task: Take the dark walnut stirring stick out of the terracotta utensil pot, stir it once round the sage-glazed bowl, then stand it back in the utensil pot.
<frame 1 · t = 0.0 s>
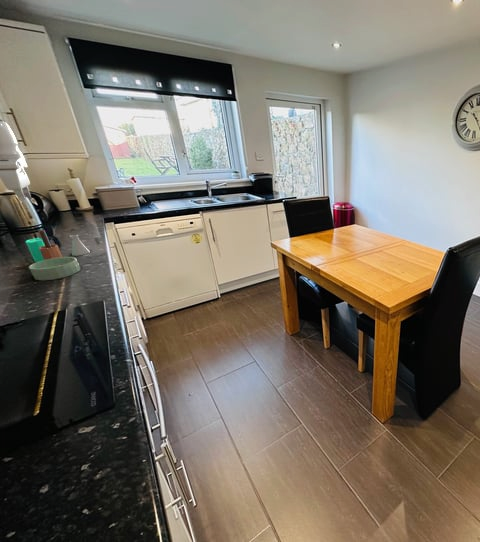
hand: (25, 198, 115), 31 cm above the worktop, tool pointing down, fingers open, 8 cm apart
flask: (81, 254, 144), on the worktop
mixing bowl: (58, 274, 122), on the worktop
utensil pot: (56, 264, 131), on the worktop
stirring stick: (56, 263, 131), point 1 cm above the worktop, touching utensil pot
candle: (44, 261, 135), on the worktop
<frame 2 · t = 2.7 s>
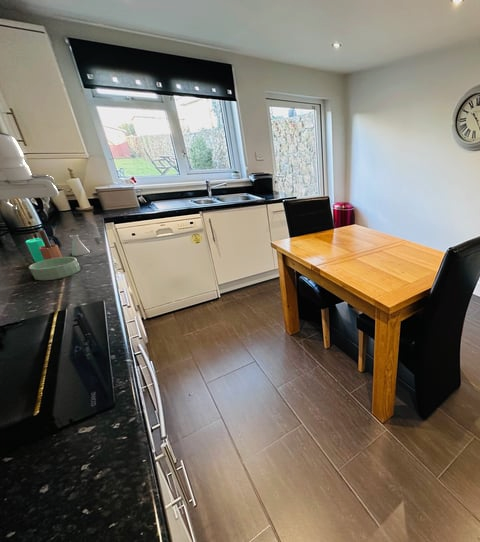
hand: (31, 209, 120), 26 cm above the worktop, tool pointing down, fingers open, 8 cm apart
nothing on the worktop moved.
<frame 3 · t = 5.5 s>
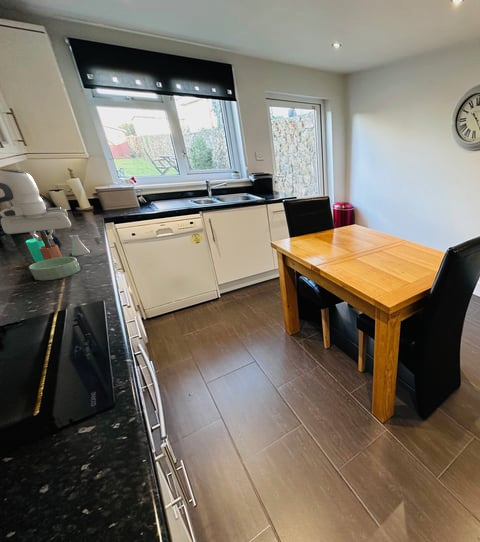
hand: (45, 240, 126), 12 cm above the worktop, tool pointing down, fingers closed on stirring stick, 2 cm apart
stirring stick: (55, 263, 131), point 1 cm above the worktop, touching gripper, utensil pot
everything else where it was.
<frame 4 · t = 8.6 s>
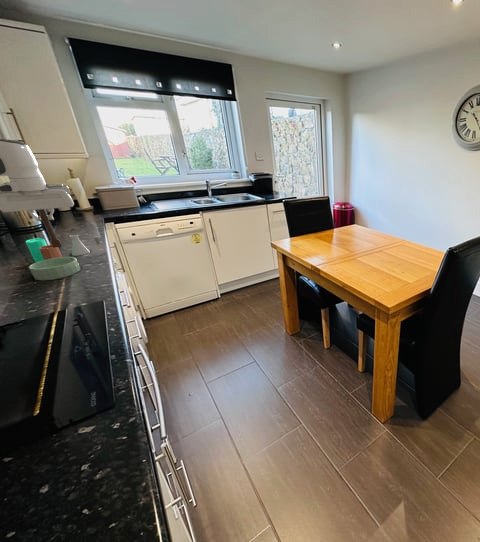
hand: (45, 220, 114), 23 cm above the worktop, tool pointing down, fingers closed on stirring stick
stirring stick: (57, 246, 119), point 12 cm above the worktop, touching gripper
everything else where it was.
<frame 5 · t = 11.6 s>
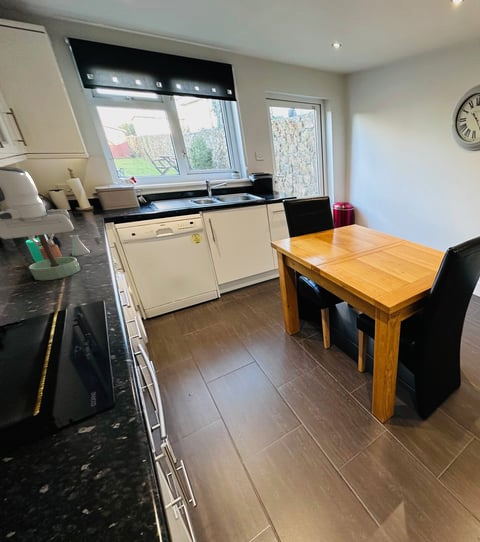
hand: (45, 245, 115), 14 cm above the worktop, tool pointing down, fingers closed on stirring stick, 2 cm apart
stirring stick: (57, 270, 119), point 2 cm above the worktop, touching gripper
everything else where it was.
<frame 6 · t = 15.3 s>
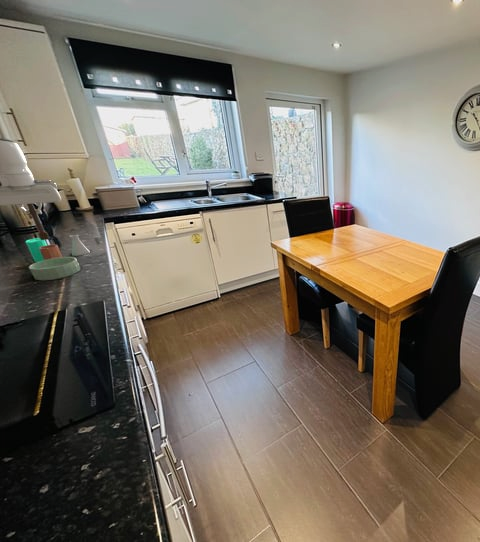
hand: (33, 214, 121), 24 cm above the worktop, tool pointing down, fingers closed on stirring stick
stirring stick: (45, 239, 126), point 12 cm above the worktop, touching gripper
everything else where it was.
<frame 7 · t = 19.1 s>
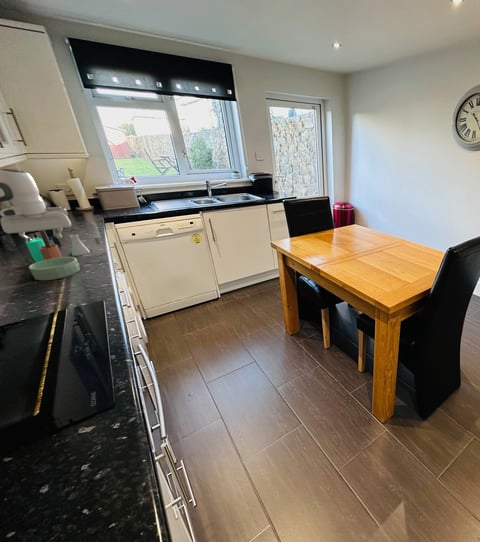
hand: (45, 239, 126), 12 cm above the worktop, tool pointing down, fingers open, 8 cm apart
stirring stick: (56, 263, 131), point 1 cm above the worktop, touching utensil pot
everything else where it was.
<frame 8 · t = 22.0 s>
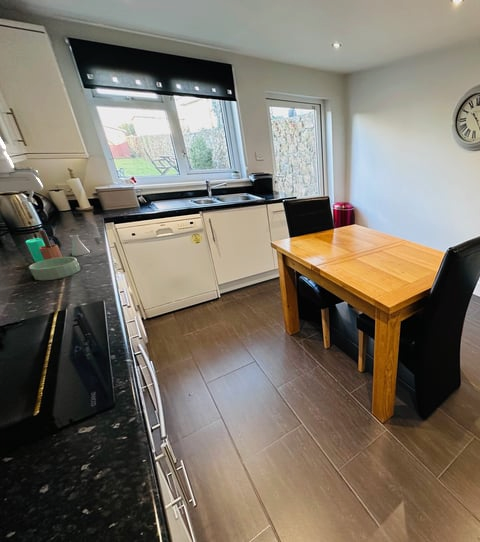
hand: (14, 202, 117), 29 cm above the worktop, tool pointing down, fingers open, 8 cm apart
nothing on the worktop moved.
at the end: stirring stick 0.1 cm off-centre in the utensil pot, point 0.6 cm above the utensil pot's base; stirring stick tilted 0°; the gripper is holding nothing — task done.
